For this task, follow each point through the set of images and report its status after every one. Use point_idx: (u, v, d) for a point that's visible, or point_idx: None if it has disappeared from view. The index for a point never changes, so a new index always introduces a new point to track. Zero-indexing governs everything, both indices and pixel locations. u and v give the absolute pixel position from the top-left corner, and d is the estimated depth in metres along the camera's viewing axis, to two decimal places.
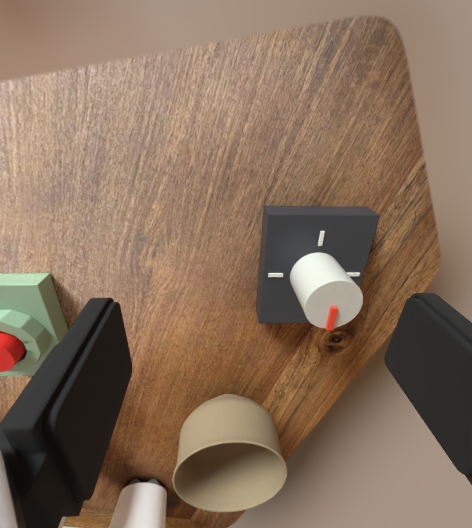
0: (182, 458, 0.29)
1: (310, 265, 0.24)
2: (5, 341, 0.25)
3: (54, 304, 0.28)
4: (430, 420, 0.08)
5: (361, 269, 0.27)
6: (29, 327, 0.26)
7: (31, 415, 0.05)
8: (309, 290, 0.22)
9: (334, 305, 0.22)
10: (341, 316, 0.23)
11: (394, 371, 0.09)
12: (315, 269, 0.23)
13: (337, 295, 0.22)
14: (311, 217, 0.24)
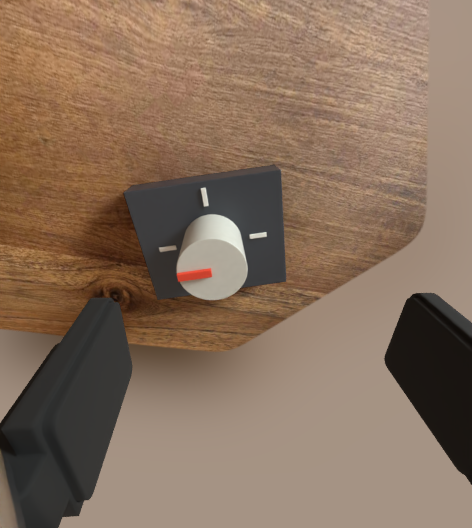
0: None
1: (236, 232, 0.21)
2: None
3: None
4: (430, 420, 0.08)
5: None
6: None
7: (31, 415, 0.05)
8: (225, 237, 0.18)
9: (212, 272, 0.19)
10: (198, 284, 0.19)
11: (394, 371, 0.09)
12: (238, 238, 0.20)
13: (226, 270, 0.19)
14: (280, 218, 0.23)
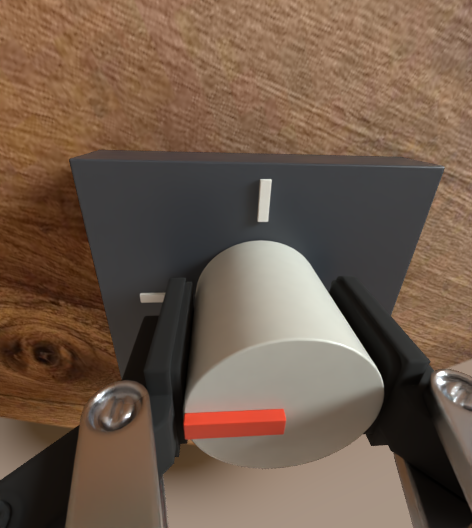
0: None
1: None
2: None
3: None
4: None
5: None
6: None
7: (162, 362, 0.06)
8: (342, 331, 0.06)
9: (285, 417, 0.07)
10: (236, 439, 0.07)
11: None
12: None
13: (324, 415, 0.07)
14: (403, 268, 0.11)
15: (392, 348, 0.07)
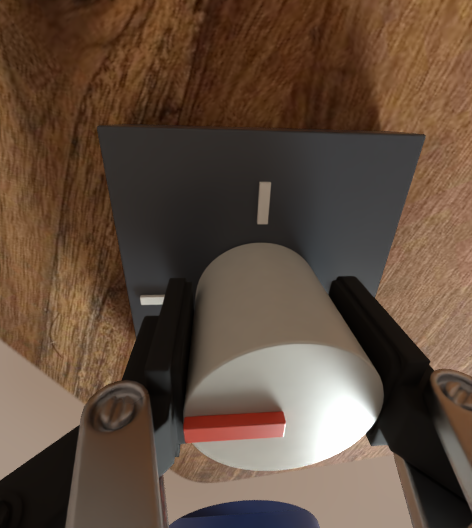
0: None
1: (328, 295, 0.09)
2: None
3: None
4: None
5: (140, 309, 0.11)
6: None
7: (162, 362, 0.06)
8: (340, 334, 0.06)
9: (285, 419, 0.07)
10: (237, 442, 0.07)
11: None
12: None
13: (324, 417, 0.07)
14: None
15: (392, 348, 0.07)
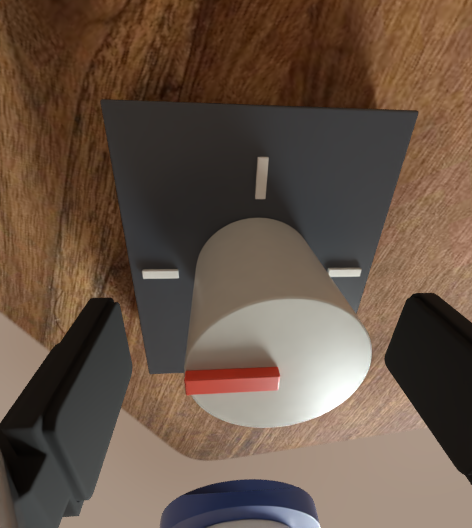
0: None
1: None
2: None
3: None
4: (430, 420, 0.08)
5: (142, 283, 0.11)
6: None
7: (31, 415, 0.05)
8: (332, 293, 0.07)
9: (280, 375, 0.07)
10: (235, 397, 0.07)
11: (394, 371, 0.09)
12: None
13: (316, 373, 0.07)
14: None
15: None
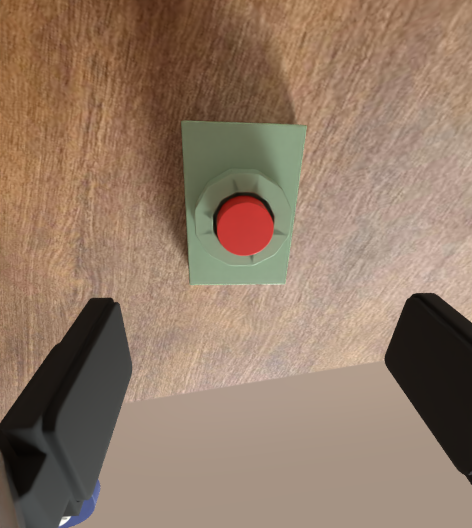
0: None
1: None
2: None
3: None
4: (430, 420, 0.08)
5: None
6: None
7: (31, 415, 0.05)
8: None
9: None
10: None
11: (394, 371, 0.09)
12: None
13: None
14: None
15: None
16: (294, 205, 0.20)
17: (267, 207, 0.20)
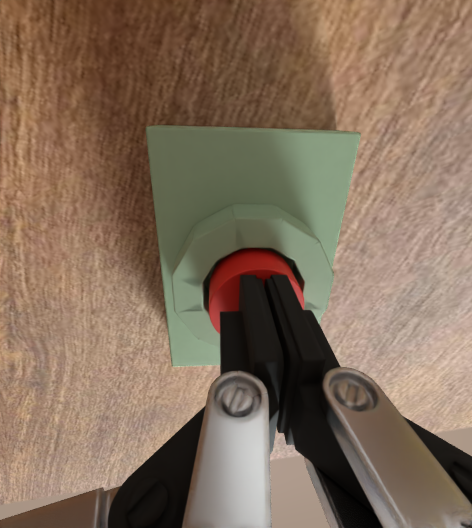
0: None
1: None
2: None
3: None
4: None
5: None
6: None
7: (268, 353, 0.06)
8: None
9: None
10: None
11: None
12: None
13: None
14: None
15: (294, 346, 0.07)
16: (332, 257, 0.13)
17: (289, 261, 0.13)
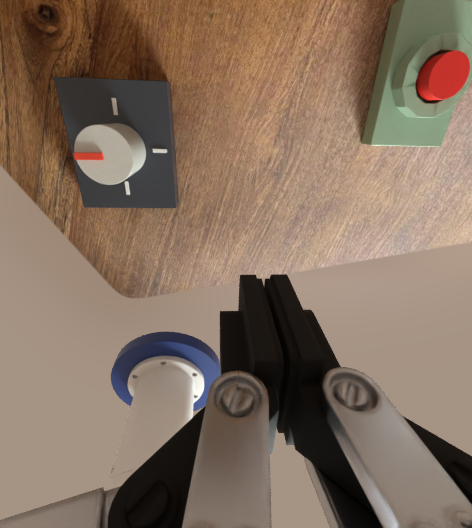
0: None
1: (135, 137, 0.26)
2: (426, 94, 0.26)
3: (372, 111, 0.29)
4: None
5: None
6: (400, 100, 0.27)
7: (268, 353, 0.06)
8: (115, 128, 0.23)
9: (104, 156, 0.23)
10: (92, 166, 0.24)
11: None
12: (134, 139, 0.25)
13: (116, 156, 0.24)
14: (141, 205, 0.31)
15: (294, 346, 0.07)
16: None
17: None
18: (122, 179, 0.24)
